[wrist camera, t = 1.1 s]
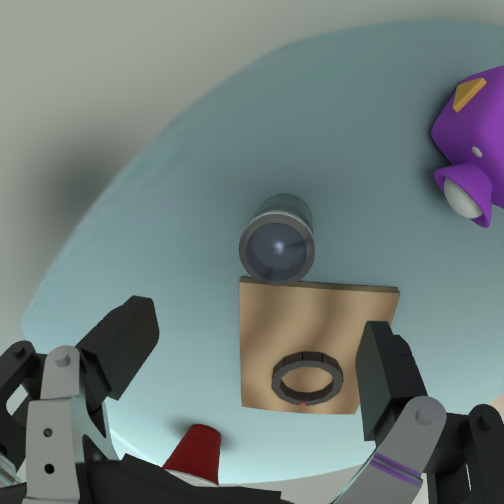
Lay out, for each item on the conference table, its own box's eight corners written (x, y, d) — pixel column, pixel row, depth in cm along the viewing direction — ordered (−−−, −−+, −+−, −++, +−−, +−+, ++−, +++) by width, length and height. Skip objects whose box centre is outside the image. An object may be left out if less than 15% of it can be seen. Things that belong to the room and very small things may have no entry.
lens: (313, 195, 23) (318, 217, 16) (309, 247, 25) (311, 291, 17) (258, 192, 24) (237, 212, 16) (257, 244, 26) (237, 284, 18)
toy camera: (399, 176, 21) (454, 196, 12) (446, 64, 15) (503, 38, 6) (472, 233, 21) (528, 273, 12) (513, 129, 15) (573, 135, 6)
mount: (396, 287, 25) (405, 302, 22) (354, 407, 32) (355, 423, 29) (241, 276, 27) (234, 290, 25) (243, 400, 34) (239, 415, 32)
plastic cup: (217, 450, 43) (201, 498, 32) (170, 426, 42) (147, 473, 31) (247, 437, 39) (232, 494, 28) (194, 409, 38) (168, 467, 27)
